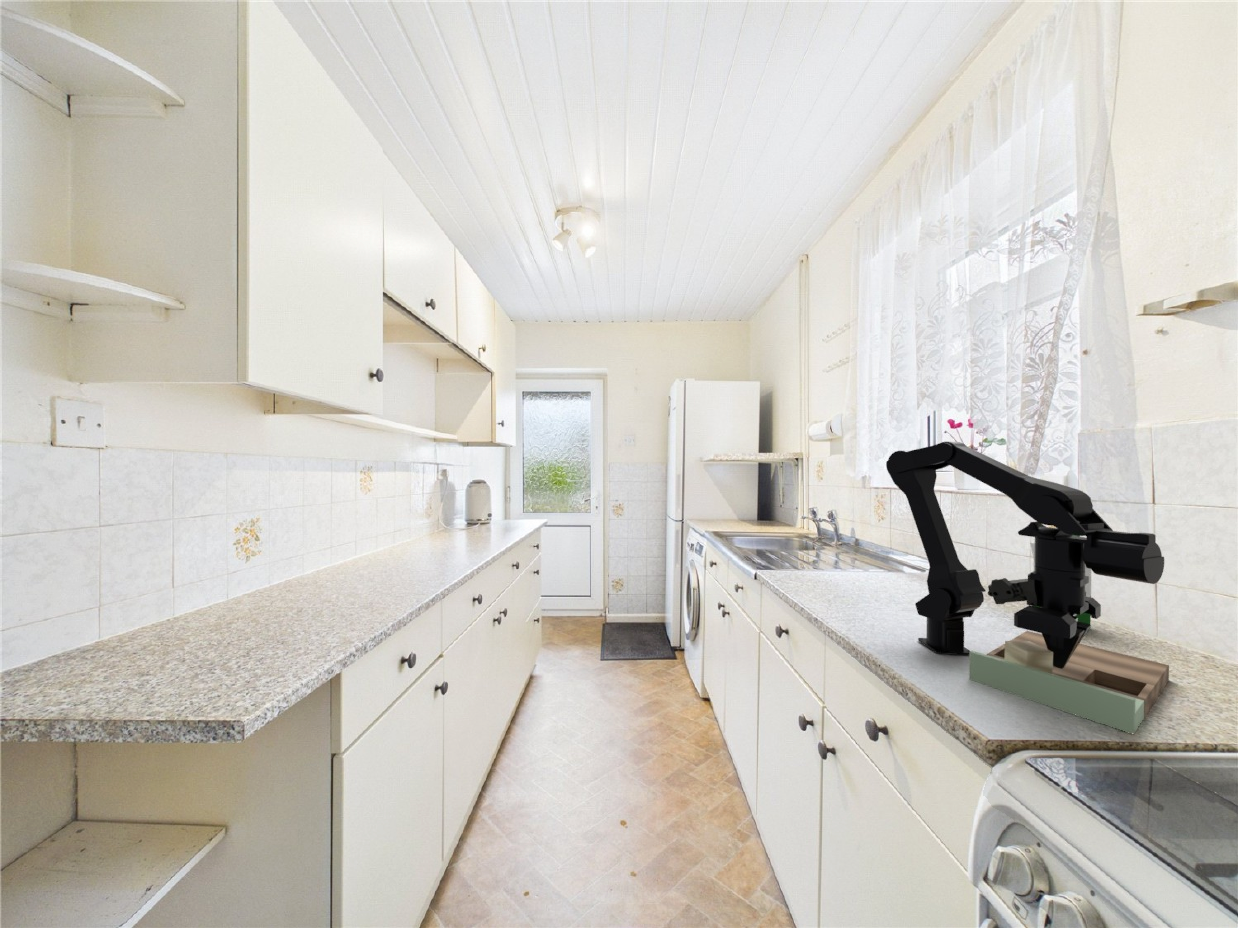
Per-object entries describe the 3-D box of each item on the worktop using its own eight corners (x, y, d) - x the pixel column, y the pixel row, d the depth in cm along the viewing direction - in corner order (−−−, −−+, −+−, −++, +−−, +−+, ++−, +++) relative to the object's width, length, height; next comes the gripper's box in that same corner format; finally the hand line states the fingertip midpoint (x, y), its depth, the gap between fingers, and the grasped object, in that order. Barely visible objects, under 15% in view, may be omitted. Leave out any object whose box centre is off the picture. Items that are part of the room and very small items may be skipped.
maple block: (1028, 665, 74) (1029, 641, 74) (1052, 677, 70) (1053, 652, 70) (1004, 664, 74) (1005, 640, 74) (1026, 677, 70) (1027, 651, 70)
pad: (985, 668, 78) (986, 642, 78) (1143, 718, 63) (1144, 686, 63) (969, 679, 74) (969, 651, 74) (1133, 734, 59) (1133, 700, 59)
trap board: (1026, 643, 90) (1026, 630, 90) (1168, 680, 75) (1168, 665, 75) (985, 668, 78) (985, 654, 78) (1143, 718, 63) (1144, 700, 63)
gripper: (1014, 553, 83) (1013, 638, 83) (973, 565, 73) (972, 662, 73) (1101, 564, 74) (1101, 660, 74) (1069, 580, 63) (1068, 691, 63)
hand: (1058, 667), depth 71 cm, fingers closed
